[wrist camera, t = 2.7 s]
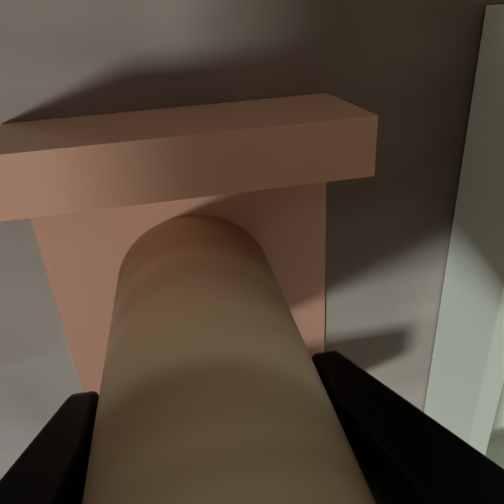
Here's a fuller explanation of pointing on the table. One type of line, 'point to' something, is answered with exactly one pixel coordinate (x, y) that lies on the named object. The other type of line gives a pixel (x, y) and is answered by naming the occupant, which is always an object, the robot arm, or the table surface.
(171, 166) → the cradle
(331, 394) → the robot arm
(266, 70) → the table surface
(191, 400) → the dowel
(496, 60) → the tray
